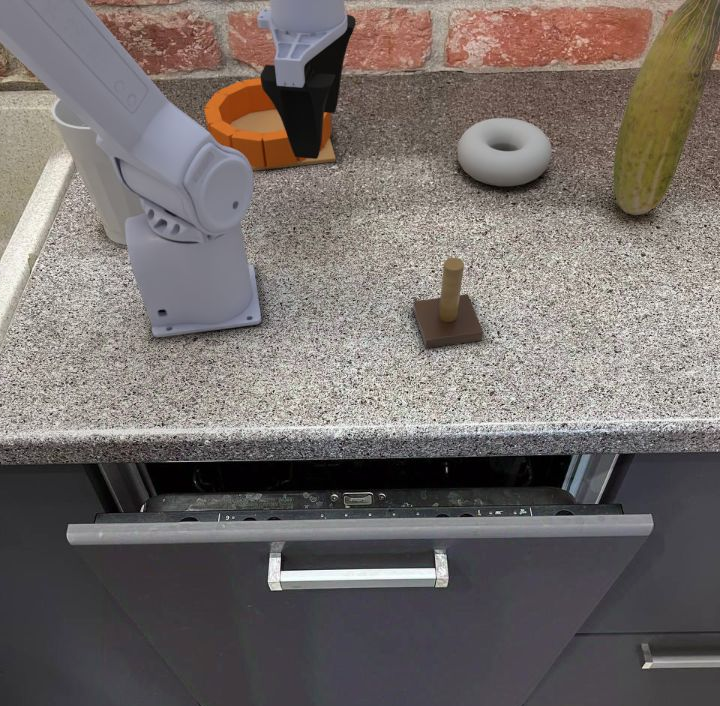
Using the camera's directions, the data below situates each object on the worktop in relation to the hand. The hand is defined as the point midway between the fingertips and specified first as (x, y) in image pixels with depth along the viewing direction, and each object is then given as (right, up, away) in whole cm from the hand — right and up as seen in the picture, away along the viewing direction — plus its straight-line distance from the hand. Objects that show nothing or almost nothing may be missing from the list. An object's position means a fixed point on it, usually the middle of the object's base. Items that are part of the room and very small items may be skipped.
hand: (315, 132), depth 61 cm
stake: (+12, -17, -1) cm, 21 cm away
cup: (-19, -5, +8) cm, 21 cm away
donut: (+19, +3, +13) cm, 24 cm away
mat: (-6, +8, +17) cm, 20 cm away
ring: (-6, +8, +17) cm, 20 cm away
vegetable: (+31, -4, +9) cm, 32 cm away
